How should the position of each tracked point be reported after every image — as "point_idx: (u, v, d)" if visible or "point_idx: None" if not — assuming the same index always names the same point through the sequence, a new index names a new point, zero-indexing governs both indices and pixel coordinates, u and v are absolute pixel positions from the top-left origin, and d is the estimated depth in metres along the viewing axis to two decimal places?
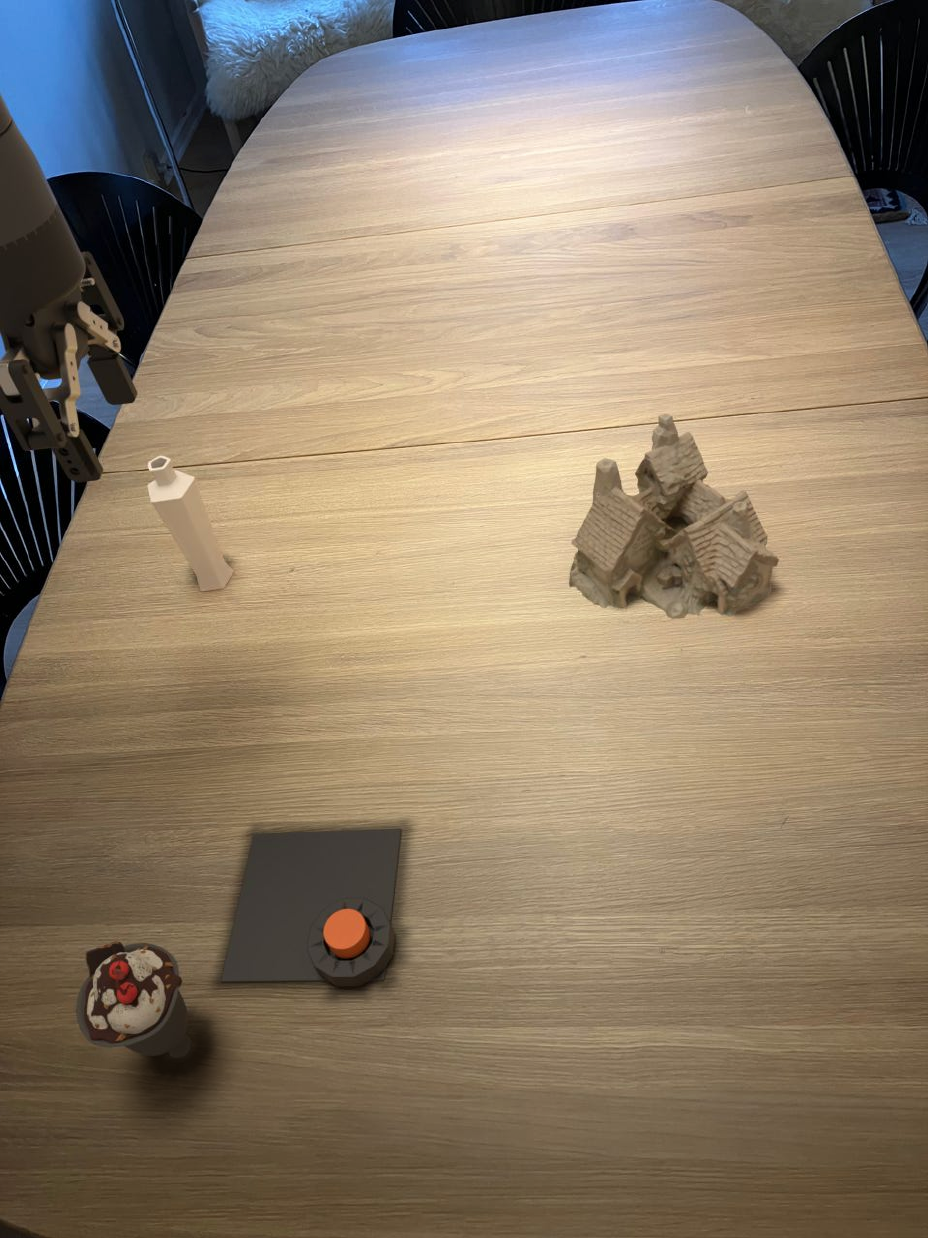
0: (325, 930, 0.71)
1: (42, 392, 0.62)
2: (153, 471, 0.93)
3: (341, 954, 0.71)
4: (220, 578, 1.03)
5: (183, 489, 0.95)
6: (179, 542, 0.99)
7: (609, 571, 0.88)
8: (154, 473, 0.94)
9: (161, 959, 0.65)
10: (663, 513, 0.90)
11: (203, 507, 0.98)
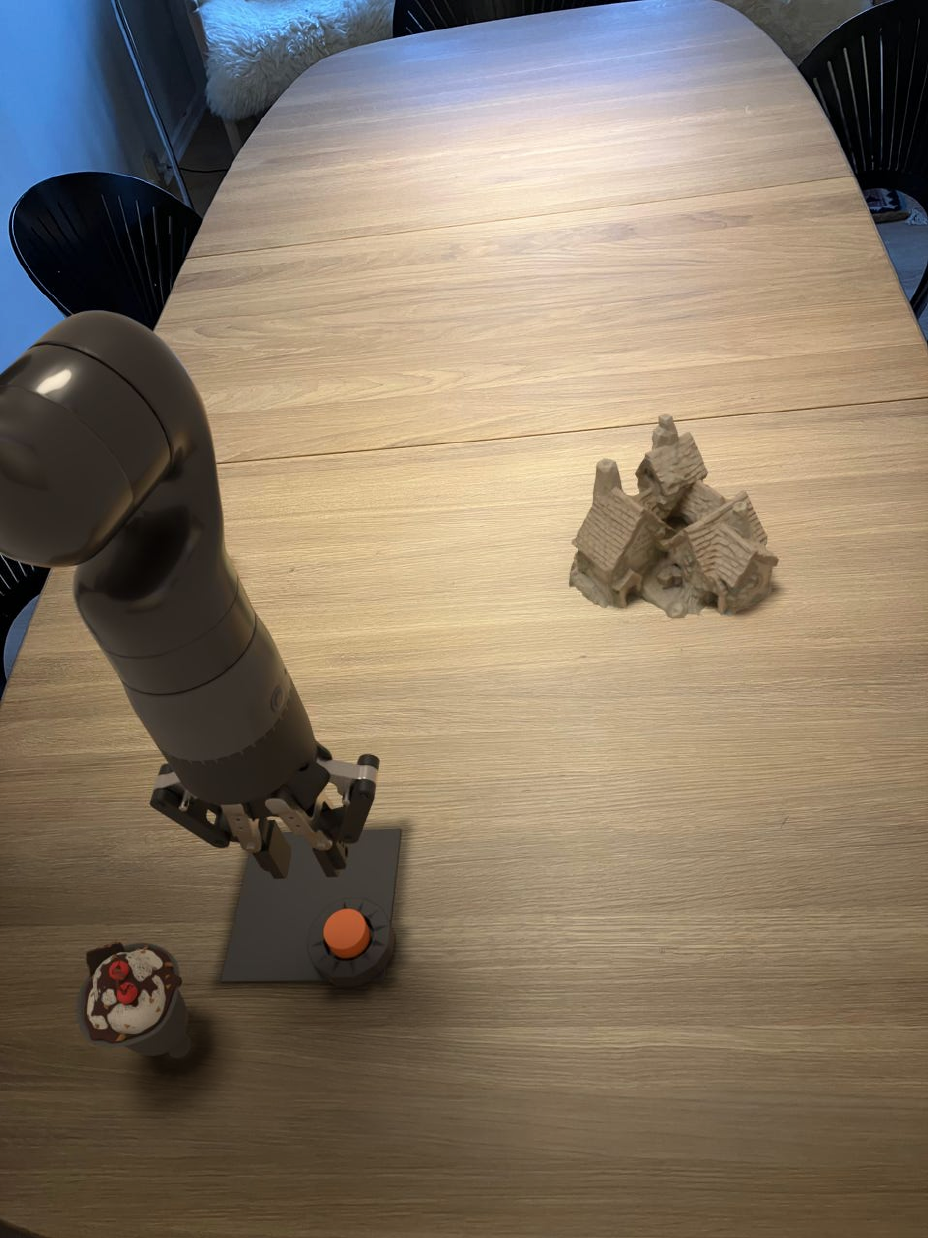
0: (325, 930, 0.71)
1: (188, 818, 0.59)
2: None
3: (341, 954, 0.71)
4: None
5: None
6: None
7: (609, 571, 0.88)
8: None
9: (161, 959, 0.65)
10: (663, 513, 0.90)
11: None
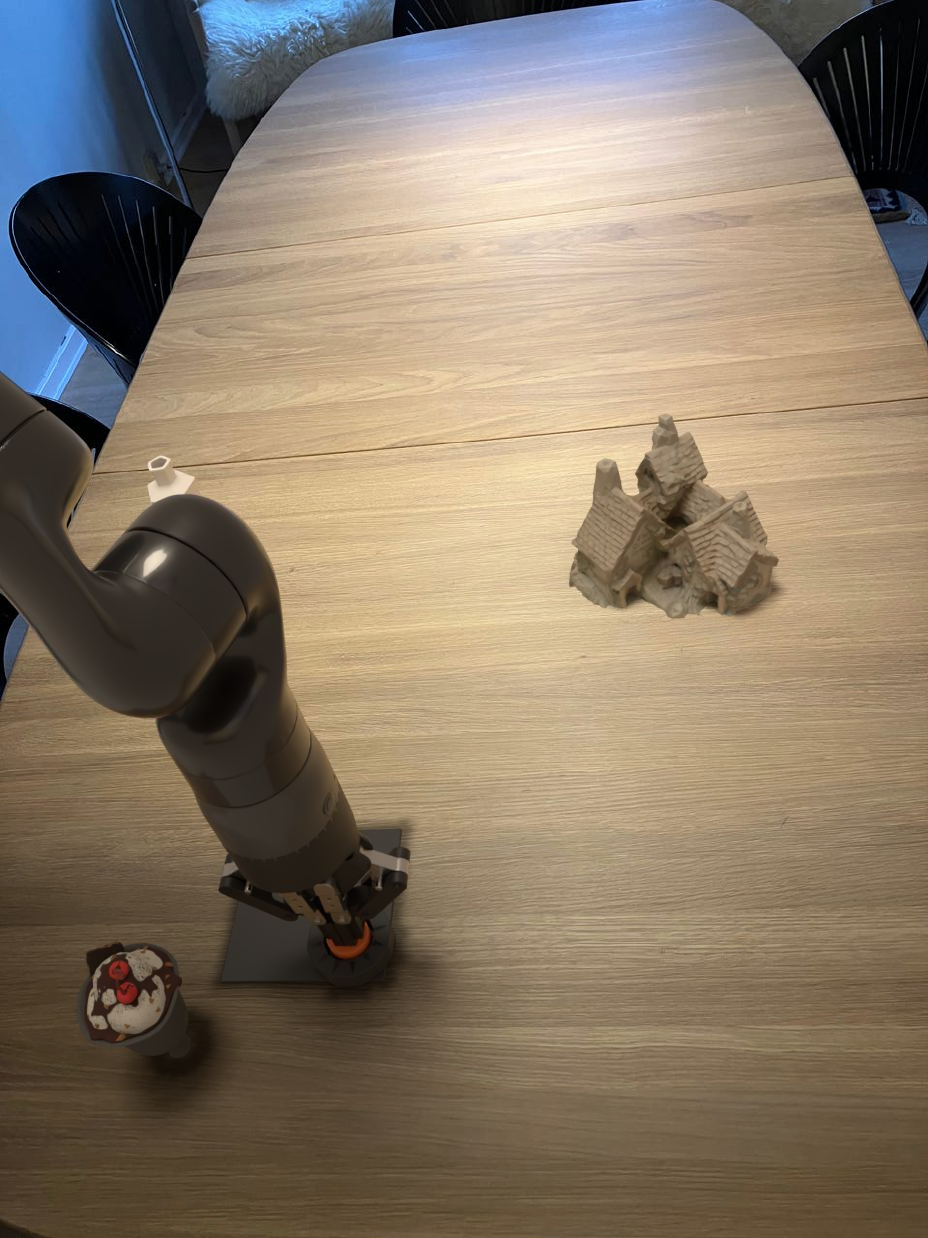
0: None
1: (255, 899, 0.66)
2: (153, 471, 0.93)
3: (344, 959, 0.71)
4: None
5: (183, 489, 0.95)
6: None
7: (609, 571, 0.88)
8: (154, 473, 0.94)
9: (161, 959, 0.65)
10: (663, 513, 0.90)
11: None
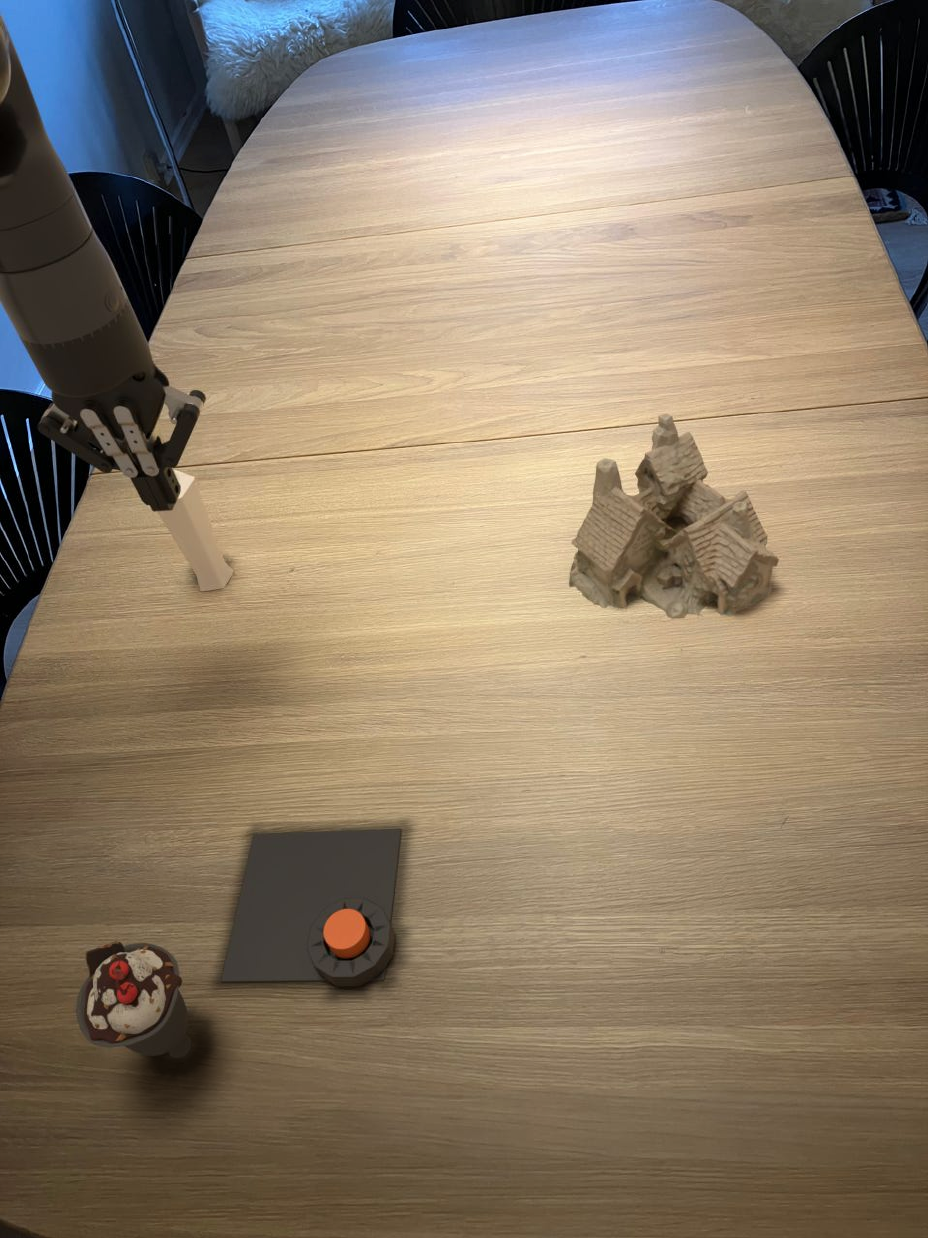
0: (325, 930, 0.71)
1: (71, 440, 0.75)
2: None
3: (341, 954, 0.71)
4: (220, 578, 1.03)
5: (183, 489, 0.95)
6: (179, 542, 0.99)
7: (609, 571, 0.88)
8: None
9: (161, 959, 0.65)
10: (663, 513, 0.90)
11: (203, 507, 0.98)
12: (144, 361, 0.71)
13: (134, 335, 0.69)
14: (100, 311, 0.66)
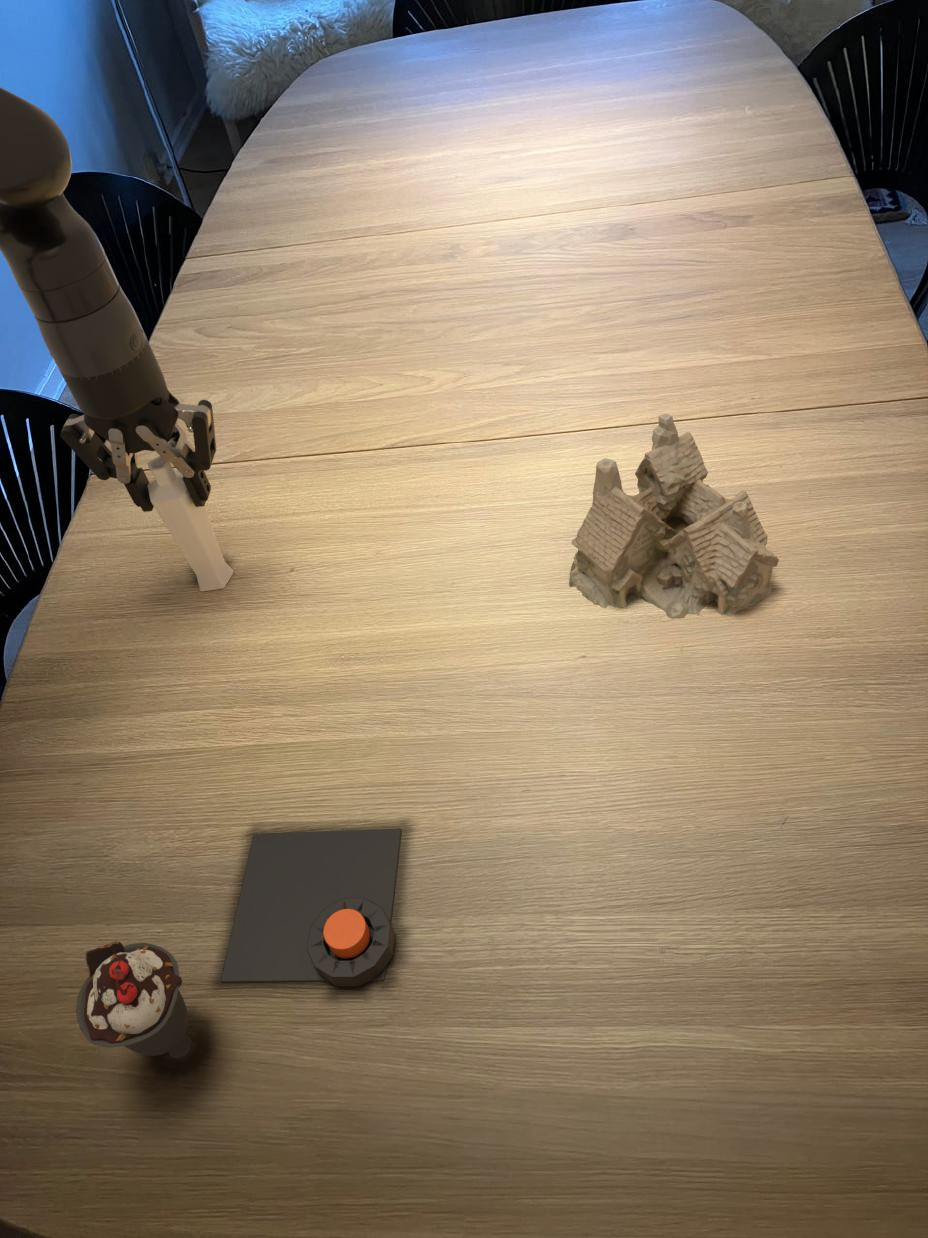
0: (325, 930, 0.71)
1: (84, 449, 0.91)
2: (153, 471, 0.93)
3: (341, 954, 0.71)
4: (220, 578, 1.03)
5: (183, 489, 0.95)
6: (179, 542, 0.99)
7: (609, 571, 0.88)
8: (154, 473, 0.94)
9: (161, 959, 0.65)
10: (663, 513, 0.90)
11: (203, 507, 0.98)
12: (160, 389, 0.87)
13: (152, 368, 0.86)
14: (126, 350, 0.82)
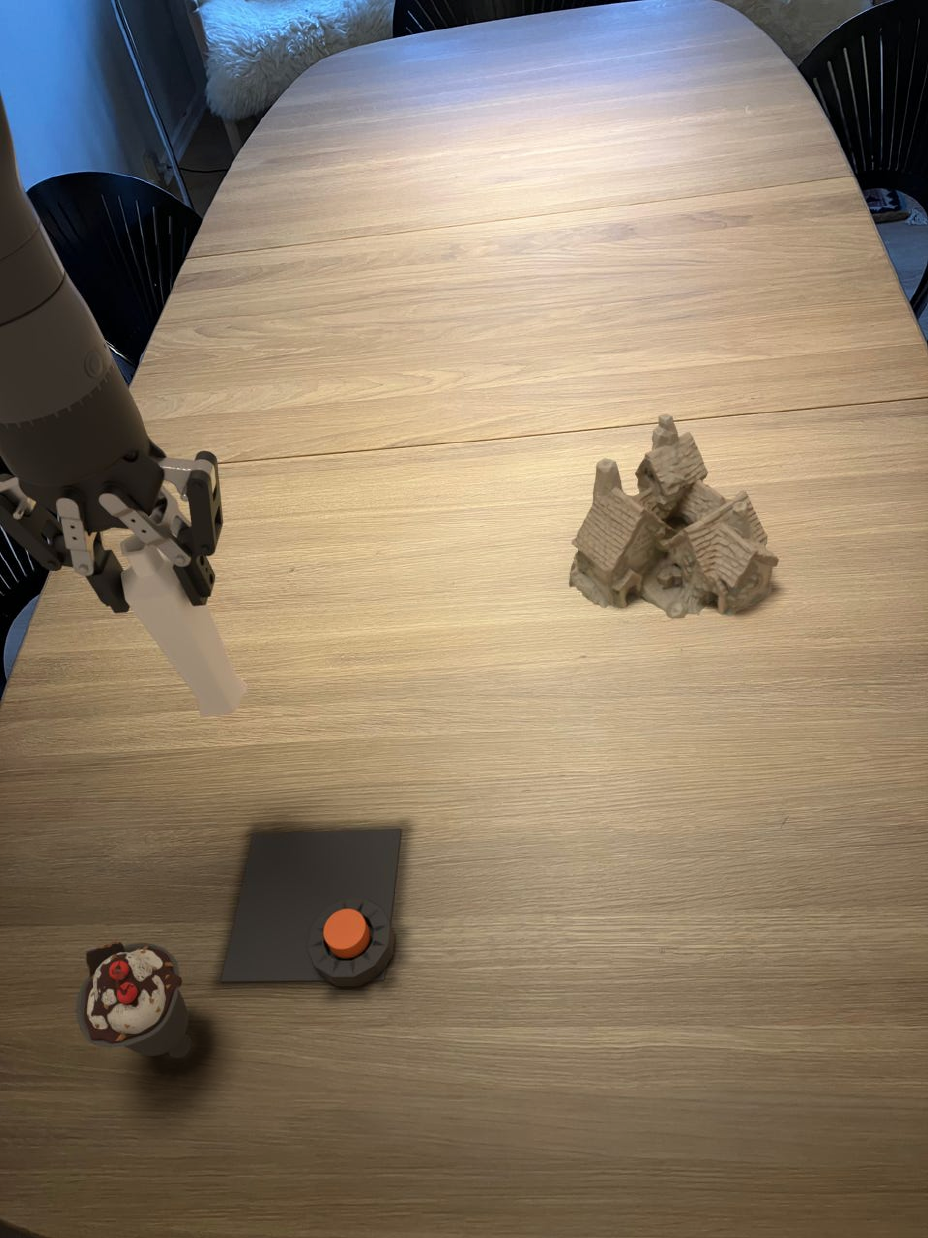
0: (325, 930, 0.71)
1: (22, 528, 0.60)
2: (128, 556, 0.62)
3: (341, 954, 0.71)
4: (229, 699, 0.71)
5: (173, 582, 0.63)
6: (169, 654, 0.67)
7: (609, 571, 0.88)
8: (130, 559, 0.62)
9: (161, 959, 0.65)
10: (663, 513, 0.90)
11: None
12: (136, 436, 0.55)
13: (123, 405, 0.54)
14: (79, 378, 0.51)
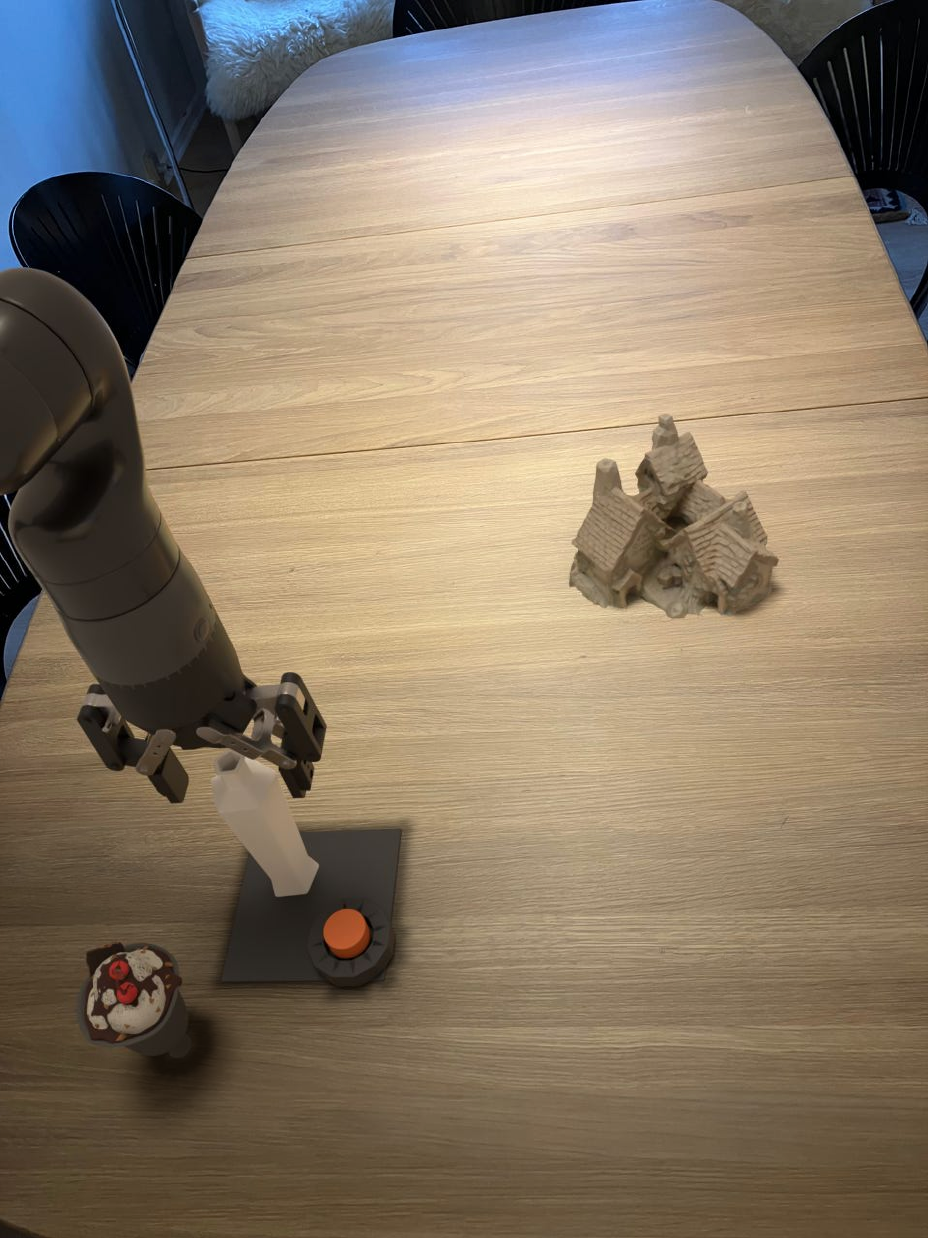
0: (325, 930, 0.71)
1: (104, 739, 0.63)
2: (221, 775, 0.67)
3: (341, 954, 0.71)
4: (303, 882, 0.76)
5: (261, 794, 0.68)
6: (251, 850, 0.72)
7: (609, 571, 0.88)
8: (223, 777, 0.67)
9: (161, 959, 0.65)
10: (663, 513, 0.90)
11: (285, 804, 0.72)
12: (234, 679, 0.60)
13: (224, 655, 0.58)
14: (189, 645, 0.55)
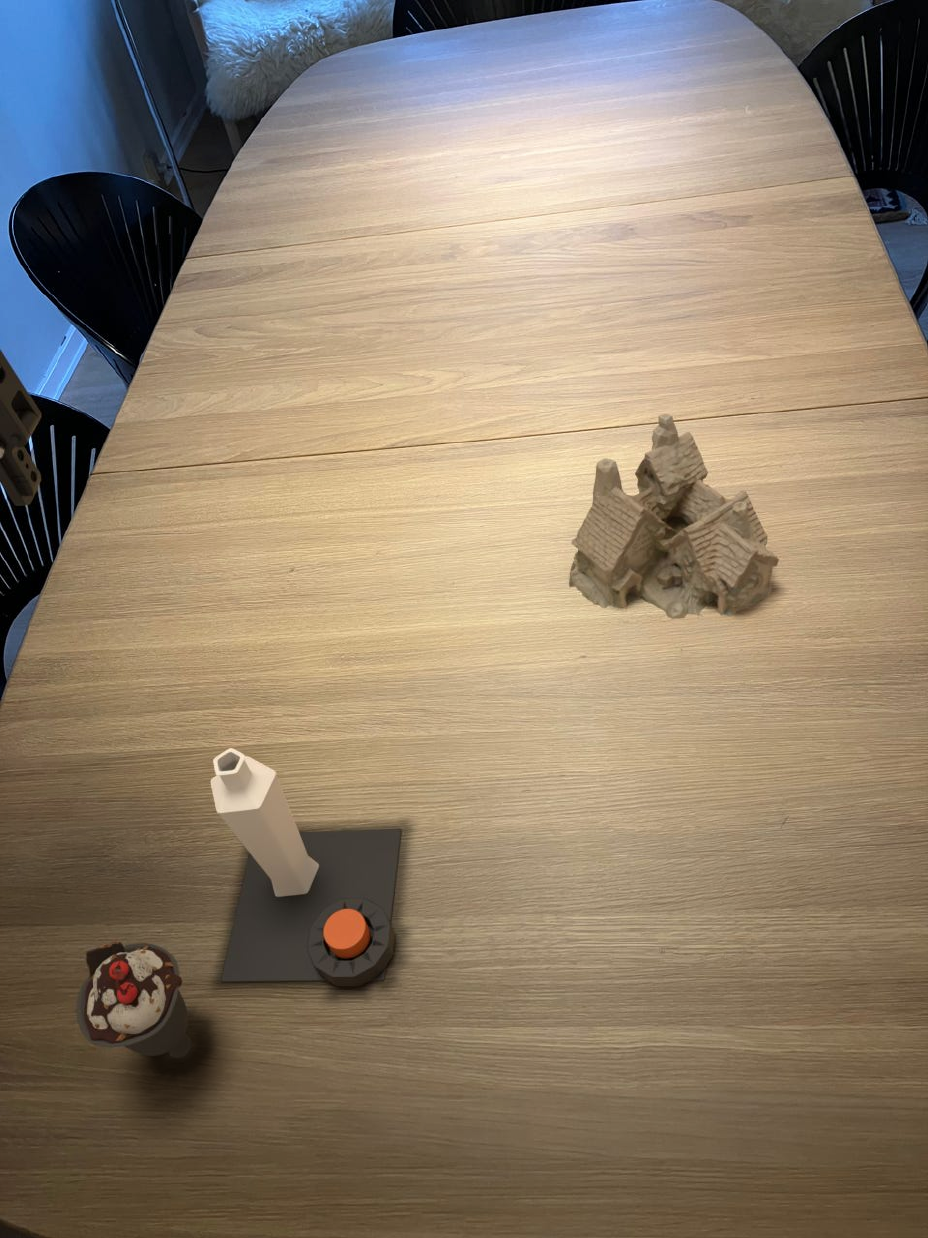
0: (325, 930, 0.71)
1: None
2: (221, 775, 0.67)
3: (341, 954, 0.71)
4: (303, 882, 0.76)
5: (261, 794, 0.68)
6: (251, 850, 0.72)
7: (609, 571, 0.88)
8: (222, 777, 0.67)
9: (161, 959, 0.65)
10: (663, 513, 0.90)
11: (285, 804, 0.72)
12: None
13: None
14: None
